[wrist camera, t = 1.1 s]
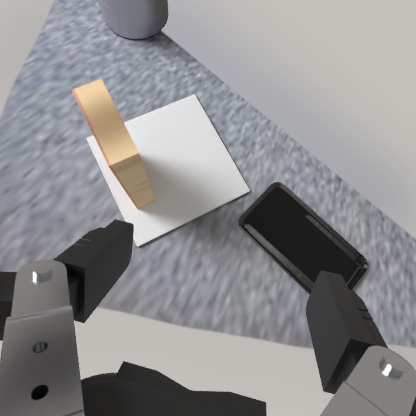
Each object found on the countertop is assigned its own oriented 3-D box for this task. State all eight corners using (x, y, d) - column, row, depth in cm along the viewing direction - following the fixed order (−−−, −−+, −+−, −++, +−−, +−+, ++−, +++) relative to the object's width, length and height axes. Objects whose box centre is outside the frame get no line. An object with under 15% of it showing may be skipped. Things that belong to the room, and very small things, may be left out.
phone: (333, 314, 32) (235, 221, 33) (328, 313, 33) (234, 223, 34) (372, 262, 33) (277, 177, 35) (366, 263, 34) (275, 180, 36)
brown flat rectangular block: (113, 159, 34) (71, 89, 22) (131, 151, 35) (101, 78, 22) (137, 209, 33) (108, 166, 20) (155, 200, 33) (138, 152, 21)
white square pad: (87, 139, 35) (86, 137, 35) (194, 96, 38) (194, 94, 37) (137, 246, 32) (137, 246, 32) (249, 191, 35) (250, 190, 35)
